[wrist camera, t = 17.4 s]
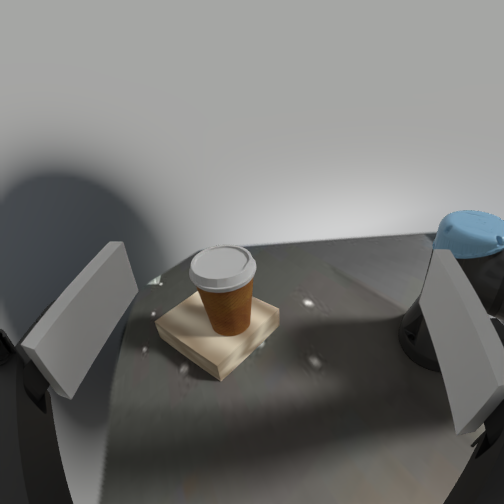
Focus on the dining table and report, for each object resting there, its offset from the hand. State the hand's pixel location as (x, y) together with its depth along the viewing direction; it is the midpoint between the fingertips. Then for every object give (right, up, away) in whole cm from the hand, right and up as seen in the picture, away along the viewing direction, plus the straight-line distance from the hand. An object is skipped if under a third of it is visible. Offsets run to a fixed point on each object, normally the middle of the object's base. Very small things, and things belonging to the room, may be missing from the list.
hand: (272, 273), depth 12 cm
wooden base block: (-7, -13, +41) cm, 43 cm away
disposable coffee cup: (-4, -11, +37) cm, 39 cm away
